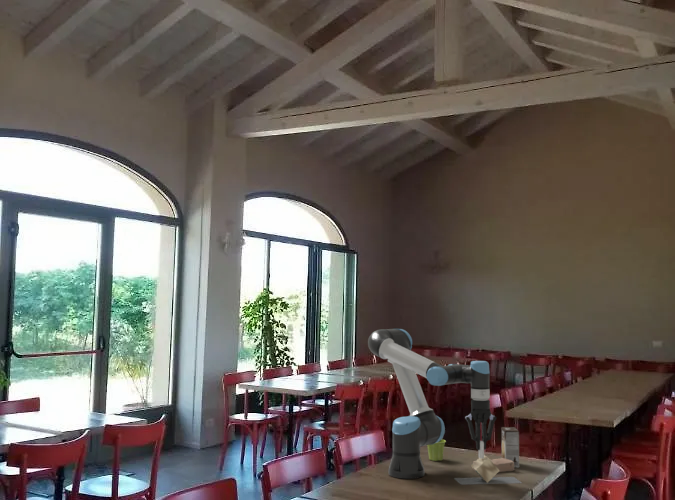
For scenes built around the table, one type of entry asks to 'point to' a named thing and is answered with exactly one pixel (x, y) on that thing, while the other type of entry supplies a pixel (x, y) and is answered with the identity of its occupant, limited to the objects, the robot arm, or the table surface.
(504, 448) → the coffee box
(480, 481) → the rubber mat
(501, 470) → the brick
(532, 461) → the table surface
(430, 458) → the plant pot
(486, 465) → the beech block
